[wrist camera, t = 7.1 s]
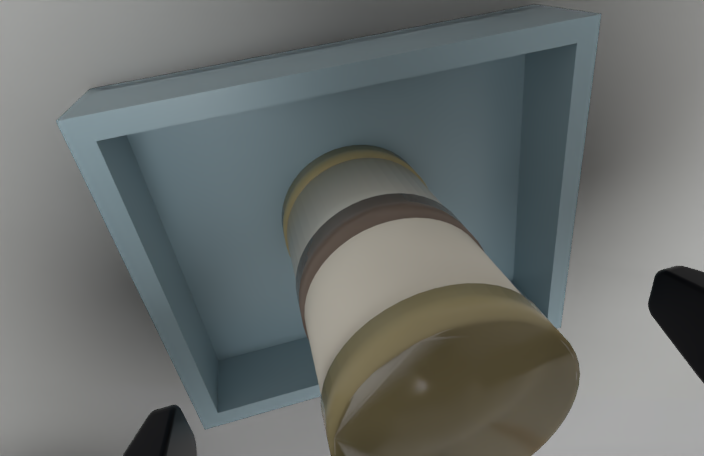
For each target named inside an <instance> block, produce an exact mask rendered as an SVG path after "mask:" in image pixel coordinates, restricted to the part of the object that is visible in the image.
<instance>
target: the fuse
mask: <svg viewBox="0 0 704 456" xmlns="http://www.w3.org/2000/svg"><path fill="white" fill-rule="evenodd" d="M282 227H283V233H284V238H285V242H286V247H287V250H288V253H289V255H290V257H291V261H292V265H293V270H294V274H295V279H296V293H297V299H298V303H299V308H300V313H301V317H302V322H303V327H304V330H305V333H306V336H307V338H308V340H309V343H310V347H311V352H312V356H313V361H314V365H315V370H316V375H317V379H318V384H319V388H320V393H321V410H322V416H323V421H324V425H325V430H326V435H327V440H328V444H329V449H330V454H331V456H531V455H533V454H534V453H535V452H536V451H537V450H539V449H540V448H541V447H542V446H543V445H544V444H545V443H546V442H547V441H548V440H549V439H550V437H551V436H552V435H553V434H554V433H555V432H556V430H557V429H558V428H559V426H560V425H561V424H562V422H563V421H564V419H565V418H566V416H567V414H568V412H569V411H570V409H571V407H572V405H573V402H574V400H575V397H576V394H577V390H578V386H579V377H580V372H579V363H578V360H577V356H576V353H575V352H574V350H573V348H572V346H571V345H570V343H569V342H568V341H567V340H566V339H565V338H564V337H563V335H562V334H561V333H560V332H559V331H558V330H557V329H556V328H555V327H554V325H553V324H552V323H551V322H550V321H549V320H548V319H547V318H546V317H545V315H544V314H543V313H542V312H541V311H540V310H539V309H538V308H537V307H536V306H535V304H534V303H533V302H532V301H530V300H529V299H527V298H526V297H525V296H523V295H522V294H521V293H520V292H519V291H518V290H517V289H516V287H515V286H514V285H513V284H512V283H511V282H510V281H509V280H508V278H507V277H506V276H505V275H504V274H503V273H502V272H501V271H500V269H499V268H498V267H497V266H496V265H495V264H494V263H493V261H492V260H491V259H490V258H489V257H488V256H487V255H486V254H485V252H484V250H483V248H482V247H481V245H480V244H479V242H478V241H477V240H476V239H475V237H474V236H473V235H472V234H471V233H470V232H469V231H468V230H467V229H466V227H465V226H464V225H463V224H462V223H461V222H460V221H459V220H458V219H457V217H456V216H455V215H454V214H453V213H452V212H451V211H450V210H448V209H447V208H446V207H445V206H443V205H442V204H441V203H440V202H439V201H438V199H437V198H436V197H435V196H434V195H433V194H432V193H431V191H430V190H429V189H428V187H427V186H426V184H425V183H424V181H423V180H422V178H421V177H420V176H419V175H418V174H417V173H416V172H415V171H414V169H413V168H412V167H411V166H410V165H409V164H408V163H407V162H406V161H405V160H404V159H402V158H401V157H400V156H398V155H397V154H395V153H393V152H392V151H389V150H387V149H384V148H381V147H376V146H370V145H352V146H345V147H341V148H338V149H334V150H332V151H329V152H327V153H325V154H323V155H321V156H320V157H318V158H316V159H315V160H313V161H312V162H311V163H309V164H308V165H307V166H306V167H305V168H304V169H303V170H302V171H301V172H300V173H299V174H298V175H297V177H296V178H295V179H294V181H293V182H292V184H291V186H290V187H289V189H288V192H287V194H286V196H285V199H284V203H283V207H282Z"/></svg>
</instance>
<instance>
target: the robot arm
mask: <svg viewBox="0 0 704 456" xmlns="http://www.w3.org/2000/svg"><path fill="white" fill-rule="evenodd" d="M648 307H649V311H650V313H651V315H652V316H653V318H654V319H655V320H656V322H657V323H658V324H659V326H660V327H661V328H662V330H663V331H664V332H665V334H666V335H667V336H668V337H669V339H670V340H671V341H672V343H673V344H674V345H675V347H676V348H677V349H678V351H679V352H680V353H681V355H682V356H683V357H684V359H685V360H686V361H687V362H688V364H689V365H690V366H691V368H692V369H693V370H694V372H695V373H696V374H697V375H698V377H699V378H700V379H701V380H702V382H703V383H704V272H701V271H698V270H695V269H691V268H688V267H684V266H674V267H670V268H667V269H663V270H660V271H658V273H657V274H656V275H655V278H654V282H653V286H652V290H651V294H650V297H649V302H648ZM123 456H197V451H196V442H195V438H194V434H193V432H192V430H191V428H190V426H189V424H188V422H187V420H186V418H185V416H184V414H183V412H182V411H181V409H180V408H179V407H178V406H177V405H171V406H168V407H164V408H161V409H157V410H154V411H153V412H151V413H150V414H149V416H148V417H147V419H146V420H145V422H144V423H143V425H142V426H141V428H140V429H139V431H138V433H137V434H136V436H135V437H134V439H133V440H132V442H131V443H130V445H129V447H128V448H127V450H126V451H125V453H124V454H123Z"/></svg>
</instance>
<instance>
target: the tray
mask: <svg viewBox="0 0 704 456" xmlns="http://www.w3.org/2000/svg"><path fill="white" fill-rule="evenodd" d="M600 20H601V14H599V13H592V12H585V11H578V10H571V9H564V8H557V7H550V6H543V5H536V4H534V5H529V6H524V7H518V8H513V9H508V10H503V11H497V12H492V13H487V14H482V15H476V16H471V17H466V18H460V19H455V20H450V21H445V22H439V23H434V24H429V25H424V26H418V27H413V28H408V29H403V30H397V31H392V32H387V33H381V34H376V35H371V36H366V37H360V38H355V39H350V40H345V41H339V42H334V43H329V44H324V45H318V46H313V47H308V48H303V49H297V50H292V51H287V52H281V53H276V54H271V55H266V56H260V57H255V58H250V59H245V60H239V61H234V62H229V63H224V64H218V65H213V66H208V67H203V68H197V69H192V70H187V71H181V72H176V73H171V74H166V75H160V76H155V77H150V78H145V79H139V80H134V81H129V82H124V83H118V84H113V85H108V86H102V87H97V88H92V89H89V90H88V91H87V92H86V93H85V94H84V95H83V96H82V97H81V98H80V99H79V100H78V101H76V102H75V103H74V104H73V105H72V106H71V107H70V108H69V109H68V110H67V111H66V112H65V113H64V114H63V115H62V116H61V117H60V118H59V119H58V120H56V122H57V124H58V127H59V129H60V131H61V133H62V135H63V137H64V139H65V141H66V143H67V145H68V147H69V149H70V151H71V153H72V156H73V158H74V160H75V162H76V164H77V166H78V168H79V170H80V172H81V174H82V176H83V178H84V180H85V182H86V184H87V187H88V189H89V191H90V193H91V195H92V197H93V199H94V201H95V203H96V205H97V207H98V209H99V211H100V213H101V215H102V218H103V220H104V222H105V224H106V226H107V228H108V230H109V232H110V234H111V236H112V238H113V240H114V242H115V244H116V247H117V249H118V251H119V253H120V255H121V257H122V259H123V261H124V263H125V265H126V267H127V269H128V271H129V273H130V275H131V278H132V280H133V282H134V284H135V286H136V288H137V290H138V292H139V294H140V296H141V298H142V300H143V302H144V304H145V307H146V309H147V311H148V313H149V315H150V317H151V319H152V321H153V323H154V325H155V327H156V329H157V331H158V333H159V335H160V338H161V340H162V342H163V344H164V346H165V348H166V350H167V352H168V354H169V356H170V358H171V360H172V362H173V364H174V367H175V369H176V371H177V373H178V375H179V377H180V379H181V381H182V383H183V385H184V387H185V389H186V391H187V393H188V395H189V398H190V400H191V402H192V404H193V406H194V408H195V410H196V412H197V414H198V416H199V418H200V420H201V422H202V424H203V427H204V429H209V428H212V427H216V426H219V425H223V424H226V423H230V422H233V421H237V420H240V419H244V418H247V417H251V416H254V415H258V414H261V413H264V412H268V411H271V410H275V409H278V408H282V407H285V406H289V405H292V404H296V403H299V402H303V401H306V400H310V399H313V398H317V397H320V396H321V393H320V388H319V384H318V379H317V375H316V370H315V365H314V361H313V356H312V352H311V347H310V343H309V340H308V338H307V336H306V333H305V330H304V327H303V322H302V317H301V313H300V308H299V303H298V299H297V293H296V279H295V274H294V270H293V265H292V261H291V257H290V255H289V253H288V250H287V247H286V242H285V238H284V233H283V227H282V207H283V203H284V199H285V196H286V194H287V192H288V189H289V187H290V186H291V184H292V182H293V181H294V179H295V178H296V177H297V175H298V174H299V173H300V172H301V171H302V170H303V169H304V168H305V167H306V166H307V165H308V164H309V163H311V162H312V161H313V160H315V159H316V158H318V157H320V156H321V155H323V154H325V153H327V152H329V151H332V150H334V149H338V148H341V147H345V146H352V145H370V146H376V147H381V148H384V149H387V150H389V151H392V152H393V153H395V154H397V155H398V156H400V157H401V158H402V159H404V160H405V161H406V162H407V163H408V164H409V165H410V166H411V167H412V168H413V169H414V171H415V172H416V173H417V174H418V175H419V176H420V177H421V178H422V180H423V181H424V183H425V184H426V186H427V187H428V189H429V190H430V191H431V193H432V194H433V195H434V196H435V197H436V198H437V199H438V201H439V202H440V203H441V204H442V205H443V206H445V207H446V208H447V209H448V210H450V211H451V212H452V213H453V214H454V215H455V216H456V217H457V219H458V220H459V221H460V222H461V223H462V224H463V225H464V226H465V227H466V229H467V230H468V231H469V232H470V233H471V234H472V235H473V236H474V237H475V239H476V240H477V241H478V242H479V244H480V245H481V247H482V248H483V250H484V252H485V254H486V255H487V256H488V257H489V258H490V259H491V260H492V261H493V263H494V264H495V265H496V266H497V267H498V268H499V269H500V271H501V272H502V273H503V274H504V275H505V276H506V277H507V278H508V280H509V281H510V282H511V283H512V284H513V285H514V286H515V287H516V289H517V290H518V291H519V292H520V293H521V294H522V295H523V296H525V297H526V298H527V299H529V300H530V301H532V302H533V303H534V304H535V306H536V307H537V308H538V309H539V310H540V311H541V312H542V313H543V314H544V315H545V317H546V318H547V319H548V320H549V321H550V322H551V323H552V324H553V325H554V327H555V328H556V329H557V328H560V327H561V322H562V314H563V306H564V299H565V291H566V283H567V275H568V268H569V260H570V252H571V244H572V237H573V229H574V221H575V213H576V206H577V198H578V190H579V182H580V175H581V167H582V159H583V151H584V144H585V136H586V128H587V121H588V113H589V105H590V97H591V90H592V82H593V74H594V66H595V59H596V51H597V43H598V35H599V28H600Z"/></svg>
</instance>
